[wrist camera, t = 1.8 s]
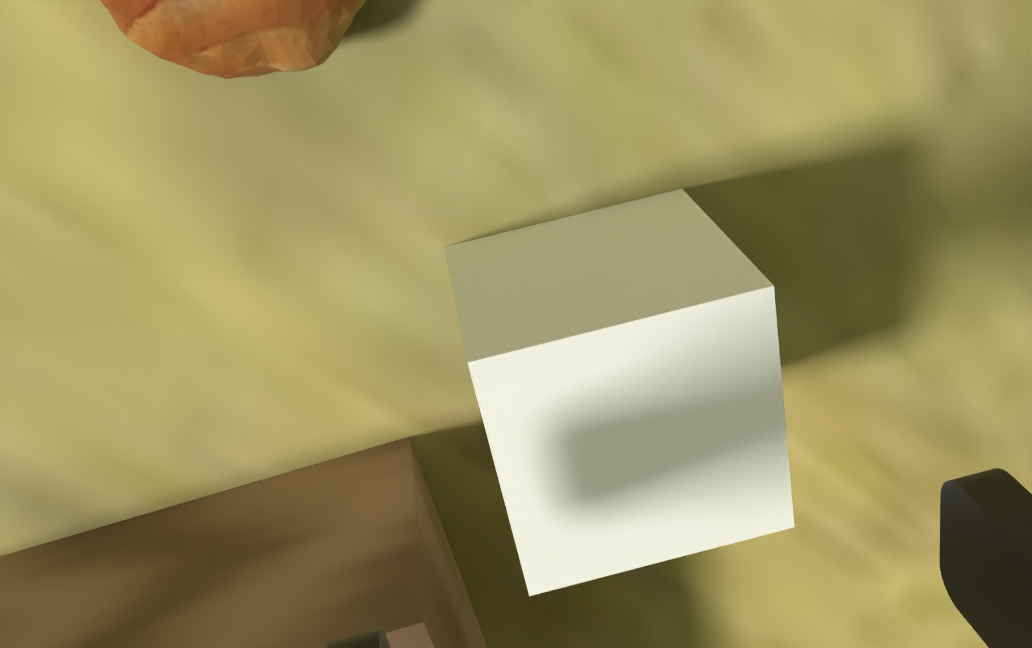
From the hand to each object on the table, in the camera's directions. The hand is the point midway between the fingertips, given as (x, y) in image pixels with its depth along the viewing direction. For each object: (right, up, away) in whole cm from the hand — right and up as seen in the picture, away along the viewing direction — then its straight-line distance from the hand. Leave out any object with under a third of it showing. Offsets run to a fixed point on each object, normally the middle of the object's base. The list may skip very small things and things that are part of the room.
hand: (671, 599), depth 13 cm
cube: (-1, +4, +7) cm, 8 cm away
